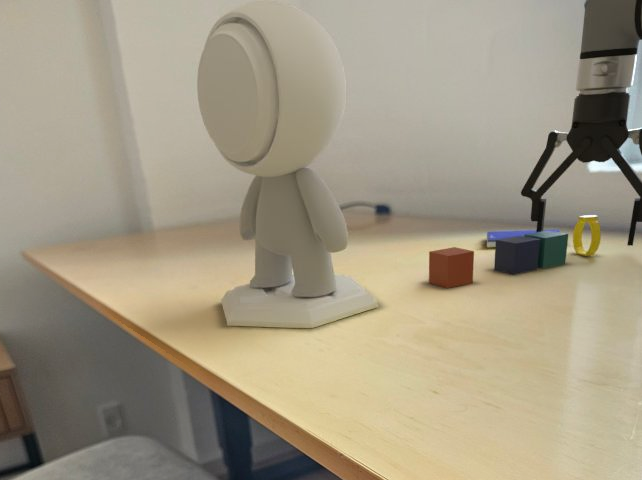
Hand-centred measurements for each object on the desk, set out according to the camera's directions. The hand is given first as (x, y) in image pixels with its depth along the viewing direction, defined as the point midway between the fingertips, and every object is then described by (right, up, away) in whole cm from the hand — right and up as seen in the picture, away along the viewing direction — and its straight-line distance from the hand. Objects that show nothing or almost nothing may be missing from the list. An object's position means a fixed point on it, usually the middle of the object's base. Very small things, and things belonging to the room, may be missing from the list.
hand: (583, 243), depth 105 cm
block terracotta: (-23, -9, -9) cm, 27 cm away
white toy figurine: (-46, -13, -14) cm, 50 cm away
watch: (0, -2, +1) cm, 2 cm away
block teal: (-8, -4, -3) cm, 9 cm away
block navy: (-12, -6, -5) cm, 15 cm away
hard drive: (-5, +4, +13) cm, 15 cm away
